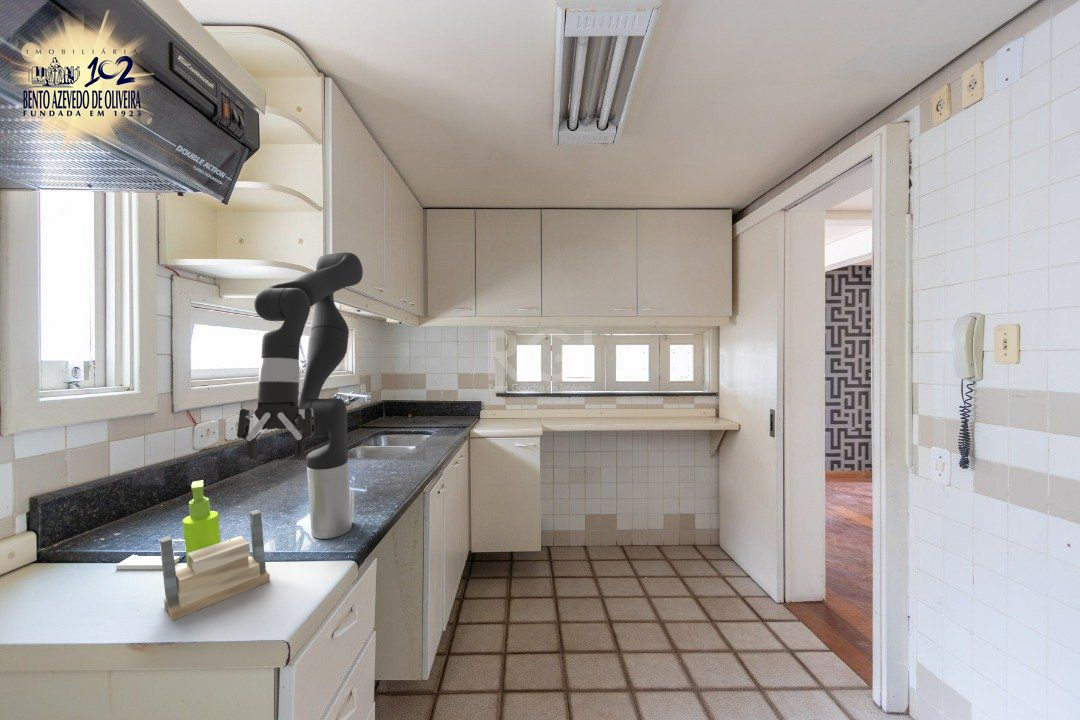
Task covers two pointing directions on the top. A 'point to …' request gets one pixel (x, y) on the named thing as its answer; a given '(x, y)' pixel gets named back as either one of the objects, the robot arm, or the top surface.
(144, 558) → the pad
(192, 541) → the soap dispenser
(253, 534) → the offcut rack
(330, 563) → the top surface
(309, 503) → the robot arm
